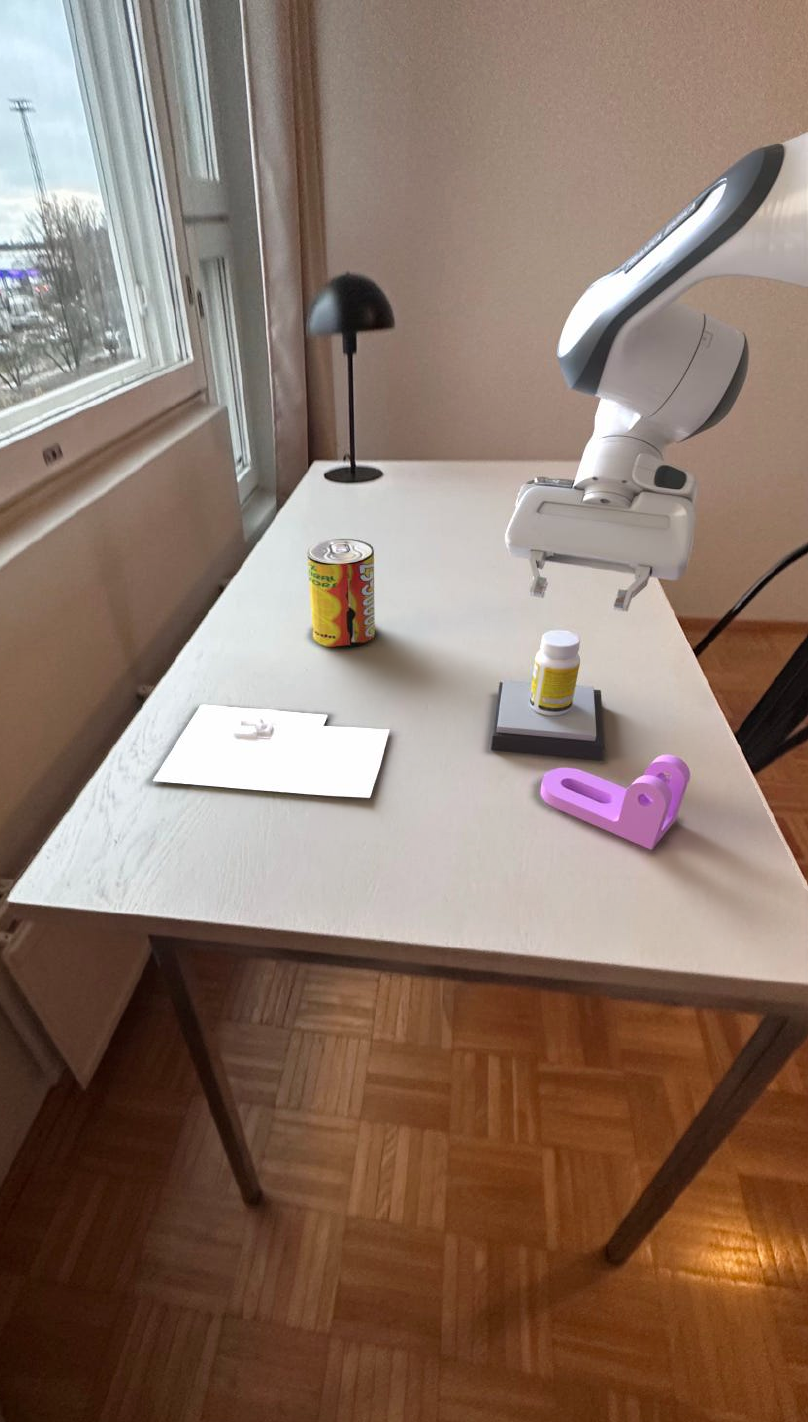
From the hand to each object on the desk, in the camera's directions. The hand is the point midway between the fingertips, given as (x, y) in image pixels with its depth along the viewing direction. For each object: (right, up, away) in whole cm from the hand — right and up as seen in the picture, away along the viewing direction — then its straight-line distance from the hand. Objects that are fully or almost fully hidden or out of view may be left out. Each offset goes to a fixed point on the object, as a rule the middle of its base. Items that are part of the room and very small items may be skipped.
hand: (577, 601), depth 82 cm
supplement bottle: (-3, -12, +2) cm, 12 cm away
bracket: (0, -24, -8) cm, 25 cm away
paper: (-34, -17, +2) cm, 38 cm away
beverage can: (-26, +3, +24) cm, 36 cm away
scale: (-3, -14, +4) cm, 14 cm away
